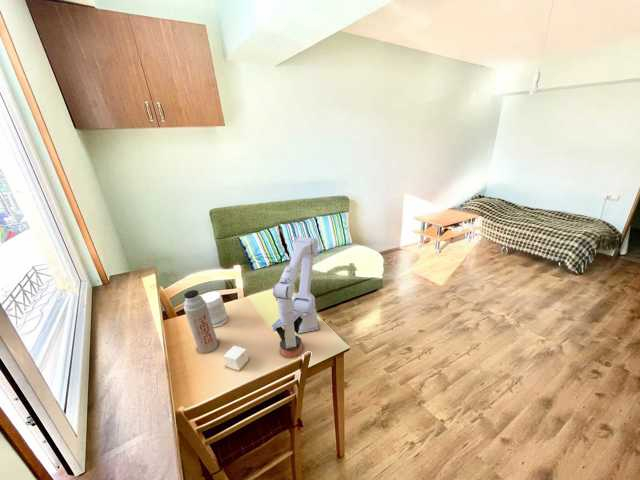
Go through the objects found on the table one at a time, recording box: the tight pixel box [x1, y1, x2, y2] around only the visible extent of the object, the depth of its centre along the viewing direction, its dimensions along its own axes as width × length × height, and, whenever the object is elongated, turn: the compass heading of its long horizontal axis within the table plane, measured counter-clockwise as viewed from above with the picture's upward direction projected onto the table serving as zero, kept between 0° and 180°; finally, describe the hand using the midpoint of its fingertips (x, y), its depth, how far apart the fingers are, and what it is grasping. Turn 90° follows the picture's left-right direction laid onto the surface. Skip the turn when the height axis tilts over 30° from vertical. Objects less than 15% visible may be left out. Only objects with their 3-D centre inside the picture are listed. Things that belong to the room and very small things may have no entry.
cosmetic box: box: [282, 322, 296, 348], centre depth 115 cm, size 6×4×12 cm
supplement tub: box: [200, 291, 229, 328], centre depth 134 cm, size 10×10×15 cm
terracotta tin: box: [279, 334, 303, 358], centre depth 119 cm, size 9×9×4 cm
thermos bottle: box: [183, 289, 219, 354], centre depth 116 cm, size 8×8×28 cm
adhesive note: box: [223, 345, 249, 372], centre depth 112 cm, size 6×6×6 cm
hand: (289, 335), depth 116 cm, fingers closed on cosmetic box, 6 cm apart
